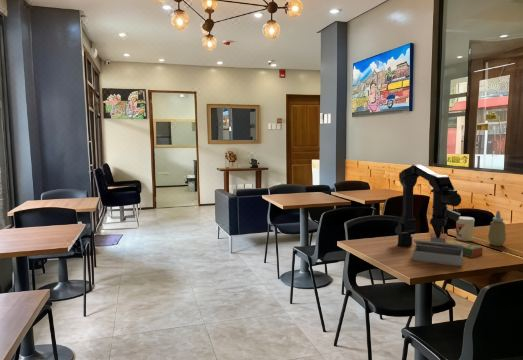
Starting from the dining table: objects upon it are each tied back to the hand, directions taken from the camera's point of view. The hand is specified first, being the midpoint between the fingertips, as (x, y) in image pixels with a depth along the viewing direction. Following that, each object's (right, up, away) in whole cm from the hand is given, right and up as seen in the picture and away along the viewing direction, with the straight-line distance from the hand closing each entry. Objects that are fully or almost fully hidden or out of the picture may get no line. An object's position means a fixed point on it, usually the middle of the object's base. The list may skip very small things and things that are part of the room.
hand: (438, 237), depth 177 cm
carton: (+19, -10, +16) cm, 26 cm away
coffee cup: (+33, -7, +40) cm, 52 cm away
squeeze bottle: (+43, -8, +28) cm, 52 cm away
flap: (+1, -4, +3) cm, 5 cm away
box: (+1, -11, +3) cm, 11 cm away
